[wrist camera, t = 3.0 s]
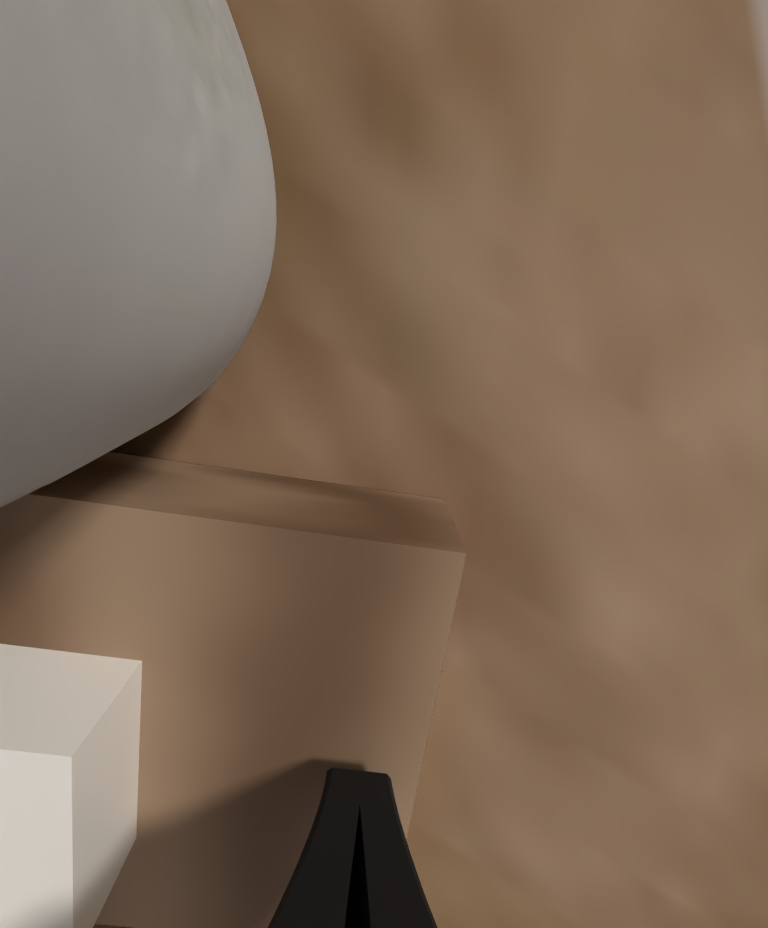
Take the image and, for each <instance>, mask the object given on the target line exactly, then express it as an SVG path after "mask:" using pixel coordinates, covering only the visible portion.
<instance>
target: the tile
mask: <svg viewBox="0 0 768 928" xmlns="http://www.w3.org/2000/svg"><path fill="white" fill-rule="evenodd" d="M141 681H142V661H140V660H131V659H123V658H115V657H107V656H98V655H90V654H82V653H73V652H65V651H57V650H49V649H40V648H32V647H24V646H15V645H7V644H0V928H93V926H94V924H95V922H96V920H97V918H98V916H99V914H100V912H101V910H102V908H103V906H104V904H105V902H106V900H107V897H108V895H109V893H110V891H111V889H112V887H113V885H114V883H115V881H116V879H117V877H118V875H119V873H120V871H121V868H122V866H123V864H124V862H125V860H126V858H127V856H128V854H129V852H130V850H131V848H132V846H133V844H134V842H135V840H136V831H137V801H138V771H139V741H140V711H141Z"/></svg>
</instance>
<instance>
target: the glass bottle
mask: <svg viewBox="0 0 768 928" xmlns="http://www.w3.org/2000/svg"><path fill="white" fill-rule="evenodd" d="M275 236H276V193H275V181H274V172H273V165H272V157H271V151H270V146H269V141H268V136H267V131H266V126H265V122H264V118H263V114H262V110H261V105H260V102H259V98H258V95H257V91H256V88H255V84H254V81H253V78H252V75H251V71H250V68H249V65H248V62H247V59H246V56H245V53H244V50H243V47H242V44H241V41H240V38H239V36H238V33H237V30H236V27H235V24H234V21H233V18H232V16H231V13H230V10H229V8H228V5H227V2H226V0H0V507H2V506H4V505H7V504H9V503H11V502H13V501H15V500H17V499H19V498H21V497H23V496H25V495H27V494H29V493H31V492H33V491H35V490H37V489H39V488H41V487H43V486H45V485H48V484H50V483H52V482H54V481H56V480H58V479H60V478H62V477H63V476H65V475H67V474H69V473H71V472H73V471H75V470H77V469H78V468H80V467H82V466H84V465H86V464H88V463H89V462H91V461H93V460H95V459H97V458H98V457H100V456H102V455H104V454H106V453H108V452H109V451H111V450H113V449H115V448H117V447H119V446H120V445H122V444H124V443H126V442H128V441H129V440H131V439H133V438H135V437H137V436H139V435H140V434H142V433H144V432H146V431H148V430H150V429H151V428H153V427H155V426H157V425H159V424H160V423H162V422H164V421H165V420H167V419H168V418H170V417H172V416H173V415H175V414H176V413H177V412H179V411H180V410H181V409H183V408H184V407H185V406H186V405H188V404H189V403H190V402H192V401H193V400H194V399H195V398H197V397H198V396H199V395H201V394H202V393H203V392H204V391H206V390H207V389H208V388H209V387H210V386H211V385H212V384H213V383H214V382H215V380H216V379H217V378H218V377H219V376H220V374H221V373H222V372H223V371H224V370H225V369H226V367H227V366H228V365H229V363H230V362H231V361H232V359H233V358H234V357H235V355H236V354H237V352H238V350H239V348H240V347H241V345H242V343H243V342H244V340H245V338H246V336H247V334H248V332H249V330H250V328H251V326H252V324H253V322H254V320H255V318H256V315H257V313H258V310H259V308H260V305H261V303H262V300H263V297H264V294H265V290H266V287H267V283H268V280H269V276H270V272H271V267H272V261H273V255H274V248H275Z"/></svg>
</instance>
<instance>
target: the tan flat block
mask: <svg viewBox="0 0 768 928" xmlns="http://www.w3.org/2000/svg"><path fill="white" fill-rule="evenodd" d="M466 554H467V553H466V551H465V548H464V546H463V544H462V541H461V539H460V536H459V534H458V532H457V529H456V527H455V524H454V522H453V520H452V517H451V515H450V512H449V510H448V508H447V505H446V503H445V500H444V499H439V498H432V497H424V496H417V495H410V494H403V493H396V492H389V491H382V490H375V489H368V488H361V487H354V486H347V485H340V484H333V483H326V482H318V481H311V480H304V479H297V478H290V477H283V476H276V475H269V474H262V473H255V472H248V471H241V470H234V469H227V468H220V467H212V466H205V465H198V464H191V463H184V462H177V461H170V460H163V459H156V458H149V457H142V456H135V455H128V454H121V453H113V452H108V453H106V454H104V455H102V456H100V457H98V458H97V459H95V460H93V461H91V462H89V463H88V464H86V465H84V466H82V467H80V468H78V469H77V470H75V471H73V472H71V473H69V474H67V475H65V476H63V477H62V478H60V479H58V480H56V481H54V482H52V483H50V484H48V485H45V486H43V487H41V488H39V489H37V490H35V491H33V492H31V493H29V494H27V495H25V496H23V497H21V498H19V499H17V500H15V501H13V502H11V503H9V504H7V505H4V506H2V507H0V644H7V645H15V646H24V647H32V648H40V649H49V650H57V651H65V652H73V653H82V654H90V655H98V656H107V657H115V658H123V659H131V660H140V661H142V681H141V711H140V741H139V771H138V801H137V831H136V840H135V842H134V844H133V846H132V848H131V850H130V852H129V854H128V856H127V858H126V860H125V862H124V864H123V866H122V868H121V871H120V873H119V875H118V877H117V879H116V881H115V883H114V885H113V887H112V889H111V891H110V893H109V895H108V897H107V900H106V902H105V904H104V906H103V908H102V910H101V912H100V914H99V916H98V918H97V920H96V922H95V924H100V925H111V926H121V927H132V928H268V926H269V924H270V922H271V920H272V918H273V916H274V914H275V911H276V909H277V907H278V905H279V903H280V901H281V898H282V896H283V894H284V892H285V890H286V888H287V886H288V883H289V881H290V879H291V877H292V875H293V872H294V870H295V868H296V865H297V863H298V861H299V858H300V856H301V853H302V851H303V848H304V846H305V843H306V841H307V838H308V836H309V833H310V830H311V828H312V825H313V822H314V819H315V816H316V813H317V810H318V807H319V804H320V800H321V797H322V793H323V789H324V785H325V779H326V773H327V771H328V770H329V769H331V768H342V769H351V770H360V771H369V772H378V773H387V774H388V775H389V777H390V778H391V782H392V787H393V792H394V797H395V801H396V805H397V809H398V813H399V817H400V821H401V824H402V828H403V831H404V834H405V838H406V839H407V834H408V829H409V825H410V820H411V815H412V810H413V806H414V801H415V796H416V791H417V787H418V782H419V777H420V772H421V768H422V763H423V758H424V753H425V749H426V744H427V739H428V734H429V730H430V725H431V720H432V715H433V711H434V706H435V701H436V697H437V692H438V687H439V682H440V678H441V673H442V668H443V663H444V659H445V654H446V649H447V644H448V640H449V635H450V630H451V625H452V621H453V616H454V611H455V606H456V602H457V597H458V592H459V587H460V583H461V578H462V573H463V568H464V564H465V559H466Z"/></svg>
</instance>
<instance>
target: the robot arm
mask: <svg viewBox="0 0 768 928" xmlns="http://www.w3.org/2000/svg"><path fill="white" fill-rule="evenodd" d="M268 928H437V925H436V923H435V920H434V918H433V915H432V913H431V910H430V908H429V905H428V902H427V900H426V897H425V894H424V892H423V889H422V886H421V883H420V880H419V877H418V874H417V872H416V869H415V866H414V863H413V860H412V857H411V854H410V851H409V848H408V844H407V841H406V838H405V834H404V831H403V828H402V824H401V821H400V817H399V813H398V809H397V805H396V801H395V797H394V792H393V787H392V782H391V778H390V777H389V775H388V774H387V773H378V772H369V771H360V770H351V769H342V768H331V769H329V770H328V771H327V773H326V779H325V785H324V789H323V793H322V797H321V800H320V804H319V807H318V810H317V813H316V816H315V819H314V822H313V825H312V828H311V830H310V833H309V836H308V838H307V841H306V843H305V846H304V848H303V851H302V853H301V856H300V858H299V861H298V863H297V865H296V868H295V870H294V872H293V875H292V877H291V879H290V881H289V883H288V886H287V888H286V890H285V892H284V894H283V896H282V898H281V901H280V903H279V905H278V907H277V909H276V911H275V914H274V916H273V918H272V920H271V922H270V924H269V926H268Z"/></svg>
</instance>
